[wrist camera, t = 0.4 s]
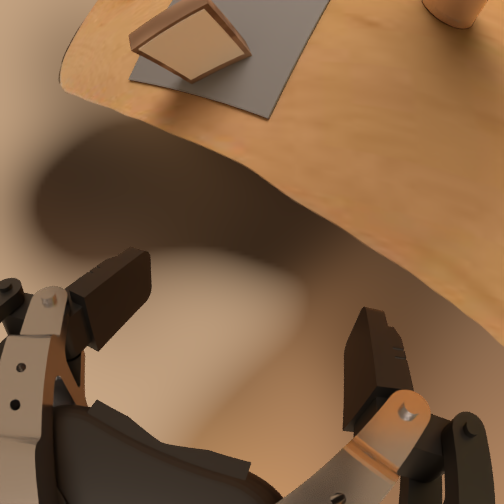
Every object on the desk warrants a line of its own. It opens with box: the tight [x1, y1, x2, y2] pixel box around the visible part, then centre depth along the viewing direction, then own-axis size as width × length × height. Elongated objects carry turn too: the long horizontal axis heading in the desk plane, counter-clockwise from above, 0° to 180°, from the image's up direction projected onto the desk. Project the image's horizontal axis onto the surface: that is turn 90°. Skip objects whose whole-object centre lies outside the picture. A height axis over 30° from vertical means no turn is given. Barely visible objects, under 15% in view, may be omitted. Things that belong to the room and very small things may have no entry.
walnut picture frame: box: [129, 0, 252, 84], centre depth 27 cm, size 3×10×14 cm, turn 109°
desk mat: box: [128, 0, 330, 119], centre depth 32 cm, size 26×28×1 cm
